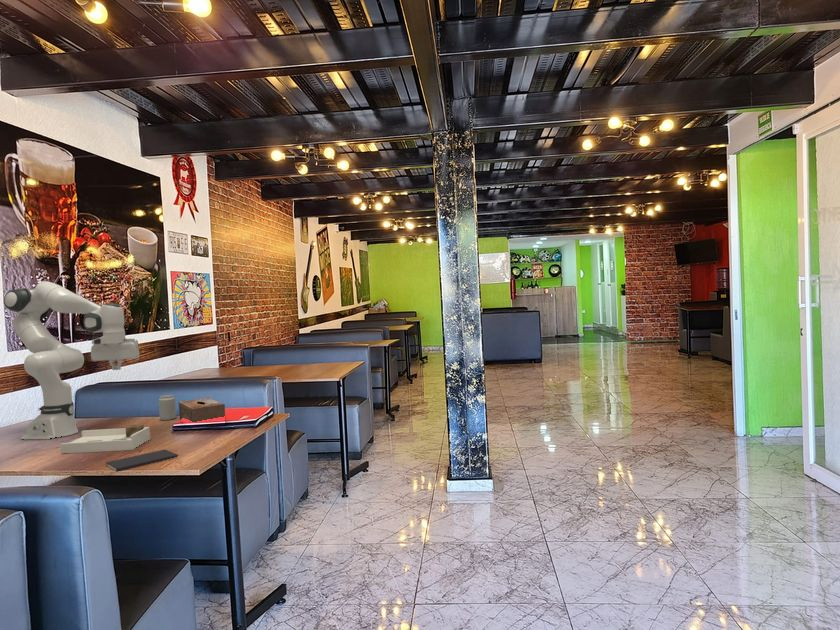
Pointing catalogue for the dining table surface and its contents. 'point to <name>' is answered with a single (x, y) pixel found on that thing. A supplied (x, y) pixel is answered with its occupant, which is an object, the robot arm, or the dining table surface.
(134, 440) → the box
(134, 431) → the walnut block
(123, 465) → the notebook
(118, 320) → the robot arm
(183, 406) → the tissue box cover
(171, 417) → the can
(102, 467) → the dining table surface
